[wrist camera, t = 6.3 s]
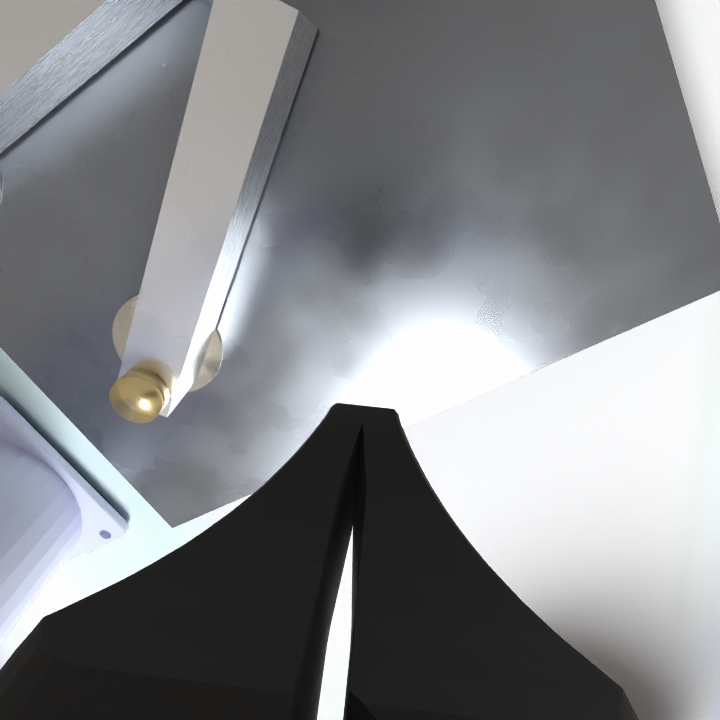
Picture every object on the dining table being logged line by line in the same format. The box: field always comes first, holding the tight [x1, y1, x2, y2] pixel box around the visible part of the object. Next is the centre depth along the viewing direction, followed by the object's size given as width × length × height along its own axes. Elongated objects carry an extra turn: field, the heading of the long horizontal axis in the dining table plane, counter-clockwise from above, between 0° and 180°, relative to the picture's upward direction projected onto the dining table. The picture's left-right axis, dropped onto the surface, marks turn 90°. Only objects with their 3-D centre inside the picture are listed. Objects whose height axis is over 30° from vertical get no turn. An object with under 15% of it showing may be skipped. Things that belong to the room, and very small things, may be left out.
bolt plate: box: [0, 0, 720, 528], centre depth 13 cm, size 21×19×6 cm
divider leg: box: [109, 0, 318, 423], centre depth 13 cm, size 11×2×3 cm, turn 156°
